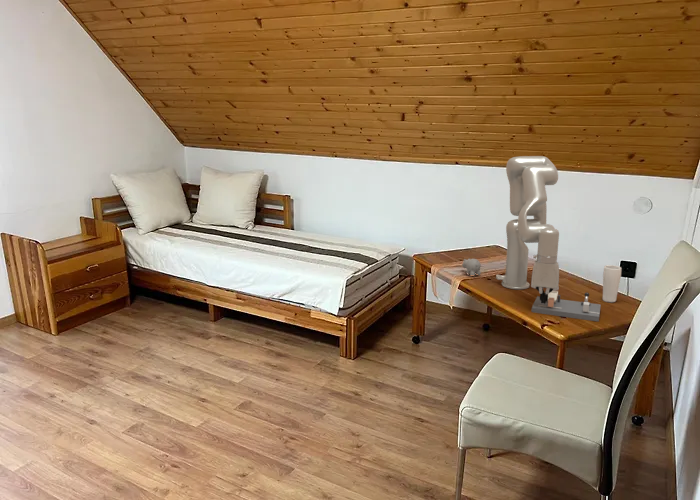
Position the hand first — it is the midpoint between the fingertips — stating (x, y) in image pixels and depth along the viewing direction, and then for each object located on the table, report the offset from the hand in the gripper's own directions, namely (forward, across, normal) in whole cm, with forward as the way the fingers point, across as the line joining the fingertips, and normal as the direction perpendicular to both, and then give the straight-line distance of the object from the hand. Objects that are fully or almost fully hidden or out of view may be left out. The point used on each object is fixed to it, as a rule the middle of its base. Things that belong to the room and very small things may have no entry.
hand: (543, 302), depth 220 cm
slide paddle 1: (+1, +3, 0) cm, 3 cm away
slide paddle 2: (+1, +16, 0) cm, 16 cm away
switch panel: (+4, +8, +4) cm, 10 cm away
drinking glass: (+4, +24, +24) cm, 34 cm away
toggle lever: (+1, +15, +8) cm, 17 cm away
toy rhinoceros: (+4, -40, +39) cm, 56 cm away
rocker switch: (0, +2, +8) cm, 8 cm away
